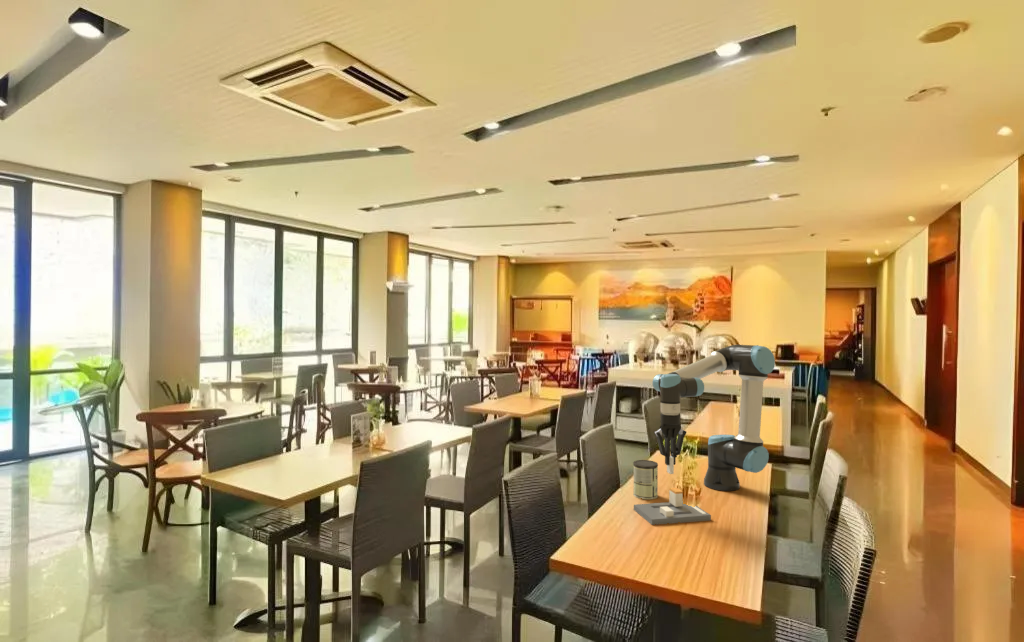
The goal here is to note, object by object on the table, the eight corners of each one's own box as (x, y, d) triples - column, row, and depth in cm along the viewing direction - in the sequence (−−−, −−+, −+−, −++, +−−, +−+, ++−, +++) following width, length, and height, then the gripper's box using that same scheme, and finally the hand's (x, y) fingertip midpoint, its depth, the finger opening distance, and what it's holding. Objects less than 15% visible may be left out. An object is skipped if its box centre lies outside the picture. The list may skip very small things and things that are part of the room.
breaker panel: (688, 505, 220) (689, 495, 220) (710, 520, 204) (710, 509, 204) (633, 509, 215) (633, 499, 215) (651, 524, 199) (651, 514, 199)
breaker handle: (676, 501, 217) (676, 487, 217) (682, 506, 212) (682, 491, 212) (669, 502, 216) (669, 487, 216) (675, 506, 211) (675, 491, 211)
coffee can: (631, 491, 238) (631, 459, 238) (655, 492, 237) (655, 460, 237) (634, 499, 227) (634, 465, 227) (659, 500, 226) (659, 466, 226)
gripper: (659, 415, 208) (659, 476, 209) (690, 414, 211) (690, 474, 211) (650, 412, 216) (650, 471, 216) (680, 411, 218) (680, 469, 219)
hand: (670, 472), depth 214 cm, fingers closed
